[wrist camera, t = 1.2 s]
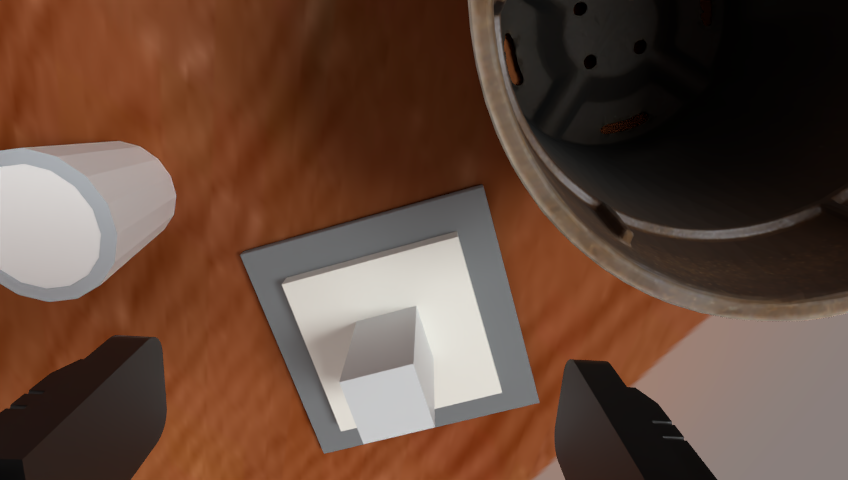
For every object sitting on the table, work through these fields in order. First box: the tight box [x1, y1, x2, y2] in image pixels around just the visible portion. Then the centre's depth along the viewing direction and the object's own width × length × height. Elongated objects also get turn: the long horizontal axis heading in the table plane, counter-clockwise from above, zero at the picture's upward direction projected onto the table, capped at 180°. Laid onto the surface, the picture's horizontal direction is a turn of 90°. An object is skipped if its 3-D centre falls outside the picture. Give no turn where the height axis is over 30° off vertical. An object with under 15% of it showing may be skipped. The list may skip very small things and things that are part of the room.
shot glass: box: [0, 141, 176, 302], centre depth 26 cm, size 7×7×7 cm
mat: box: [240, 185, 540, 454], centre depth 31 cm, size 14×14×1 cm
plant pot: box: [468, 0, 848, 322], centre depth 18 cm, size 16×16×16 cm
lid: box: [282, 231, 502, 444], centre depth 27 cm, size 10×10×7 cm
